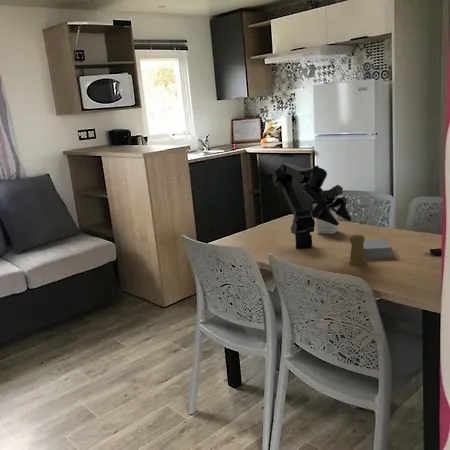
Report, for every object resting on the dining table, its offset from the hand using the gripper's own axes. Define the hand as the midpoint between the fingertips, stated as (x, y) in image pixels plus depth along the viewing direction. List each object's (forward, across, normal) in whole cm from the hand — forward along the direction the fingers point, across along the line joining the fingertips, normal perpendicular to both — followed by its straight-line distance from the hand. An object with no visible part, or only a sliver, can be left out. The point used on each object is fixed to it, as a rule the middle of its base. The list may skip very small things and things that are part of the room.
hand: (344, 222), depth 188 cm
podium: (+14, +10, +6) cm, 18 cm away
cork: (+15, -3, +6) cm, 16 cm away
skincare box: (-12, +31, +28) cm, 43 cm away
